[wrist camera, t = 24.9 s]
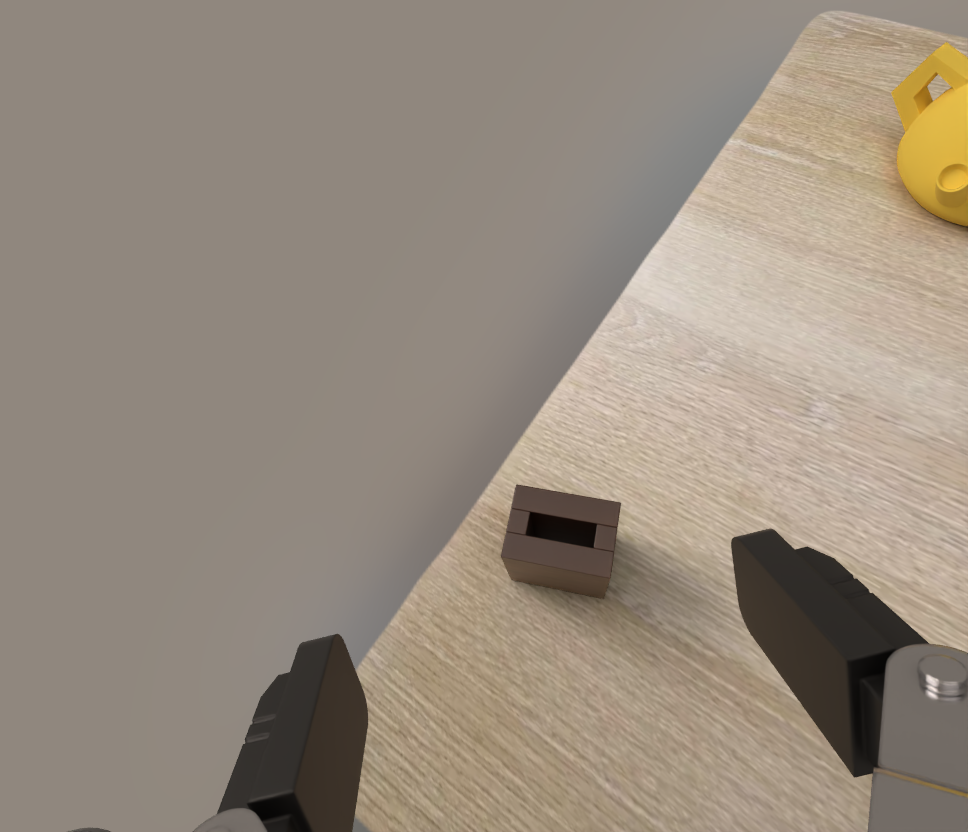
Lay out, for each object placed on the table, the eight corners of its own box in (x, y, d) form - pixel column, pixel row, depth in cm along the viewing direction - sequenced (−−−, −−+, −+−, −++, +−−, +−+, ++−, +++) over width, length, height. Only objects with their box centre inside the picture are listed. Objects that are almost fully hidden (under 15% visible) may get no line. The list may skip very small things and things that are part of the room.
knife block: (603, 599, 46) (610, 578, 38) (511, 580, 47) (500, 557, 40) (613, 533, 47) (621, 502, 40) (523, 517, 49) (516, 484, 42)
